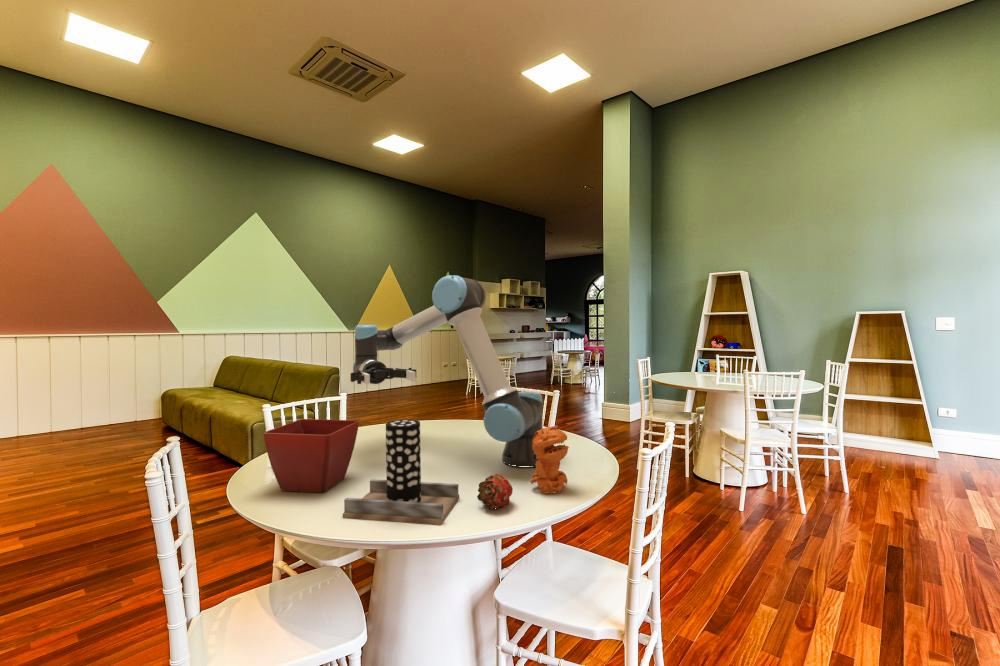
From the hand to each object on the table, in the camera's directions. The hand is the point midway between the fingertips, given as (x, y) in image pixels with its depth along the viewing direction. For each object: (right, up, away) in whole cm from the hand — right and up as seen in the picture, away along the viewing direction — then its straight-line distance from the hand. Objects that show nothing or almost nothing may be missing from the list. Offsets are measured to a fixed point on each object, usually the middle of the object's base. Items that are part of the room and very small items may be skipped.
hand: (392, 377), depth 132 cm
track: (+8, -30, -20) cm, 37 cm away
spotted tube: (+8, -29, -20) cm, 36 cm away
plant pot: (-21, -30, -3) cm, 37 cm away
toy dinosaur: (+45, -30, -8) cm, 55 cm away
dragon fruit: (+30, -30, -19) cm, 47 cm away
